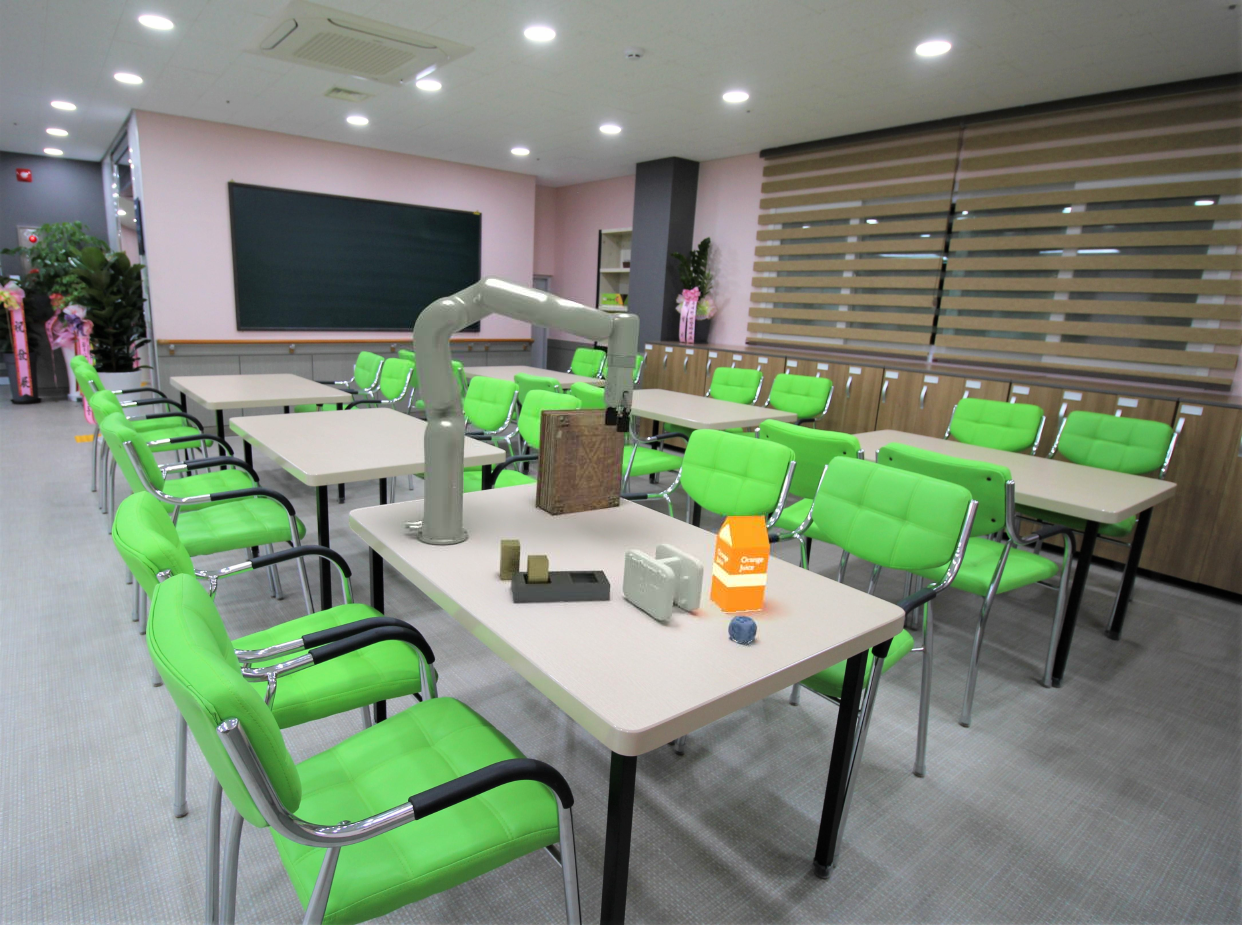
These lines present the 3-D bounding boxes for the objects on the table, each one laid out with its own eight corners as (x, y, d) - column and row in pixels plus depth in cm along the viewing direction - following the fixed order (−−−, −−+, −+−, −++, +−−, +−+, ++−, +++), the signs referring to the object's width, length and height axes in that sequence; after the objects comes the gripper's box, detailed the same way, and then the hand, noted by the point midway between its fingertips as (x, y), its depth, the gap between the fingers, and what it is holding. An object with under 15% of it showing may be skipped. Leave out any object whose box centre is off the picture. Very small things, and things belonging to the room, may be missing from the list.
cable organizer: (702, 616, 138) (708, 563, 136) (661, 627, 132) (667, 571, 130) (658, 590, 150) (662, 540, 148) (618, 598, 144) (623, 546, 142)
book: (551, 516, 198) (556, 415, 192) (535, 507, 205) (540, 410, 199) (619, 506, 213) (626, 412, 207) (602, 499, 220) (609, 408, 214)
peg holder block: (513, 602, 138) (515, 565, 136) (511, 587, 145) (512, 552, 144) (609, 600, 143) (612, 564, 141) (601, 585, 150) (604, 551, 148)
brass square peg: (500, 580, 149) (502, 545, 147) (499, 573, 152) (500, 539, 151) (518, 579, 150) (520, 545, 148) (517, 573, 153) (518, 539, 152)
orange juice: (762, 611, 143) (773, 521, 139) (724, 614, 140) (735, 522, 136) (745, 596, 150) (756, 510, 146) (709, 598, 148) (718, 510, 143)
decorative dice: (755, 639, 130) (758, 620, 129) (744, 646, 127) (747, 626, 126) (738, 632, 133) (740, 613, 132) (726, 638, 130) (729, 619, 129)
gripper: (597, 359, 178) (593, 422, 182) (618, 365, 162) (613, 434, 166) (624, 360, 181) (619, 423, 184) (647, 366, 165) (641, 435, 169)
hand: (616, 428), depth 175 cm, fingers open, 9 cm apart
